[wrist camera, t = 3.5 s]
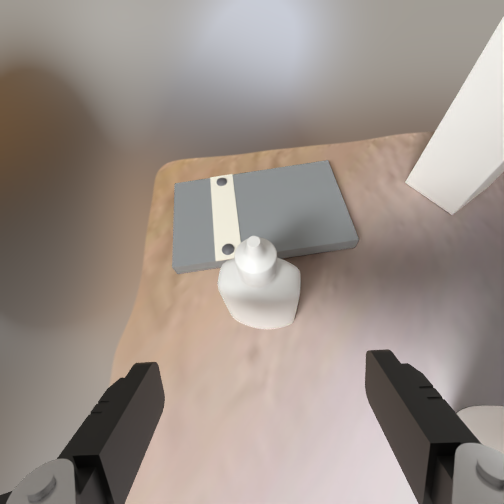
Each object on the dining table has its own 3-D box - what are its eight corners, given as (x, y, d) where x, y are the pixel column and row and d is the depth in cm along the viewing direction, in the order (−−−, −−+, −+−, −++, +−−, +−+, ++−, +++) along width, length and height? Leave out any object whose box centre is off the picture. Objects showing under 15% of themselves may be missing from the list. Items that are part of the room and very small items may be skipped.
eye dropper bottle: (252, 276, 26) (236, 192, 15) (302, 308, 24) (323, 236, 13) (224, 312, 24) (185, 246, 14) (276, 350, 22) (276, 305, 12)
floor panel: (325, 170, 32) (328, 158, 30) (354, 247, 26) (359, 238, 25) (178, 192, 32) (174, 182, 30) (177, 274, 26) (171, 266, 25)
